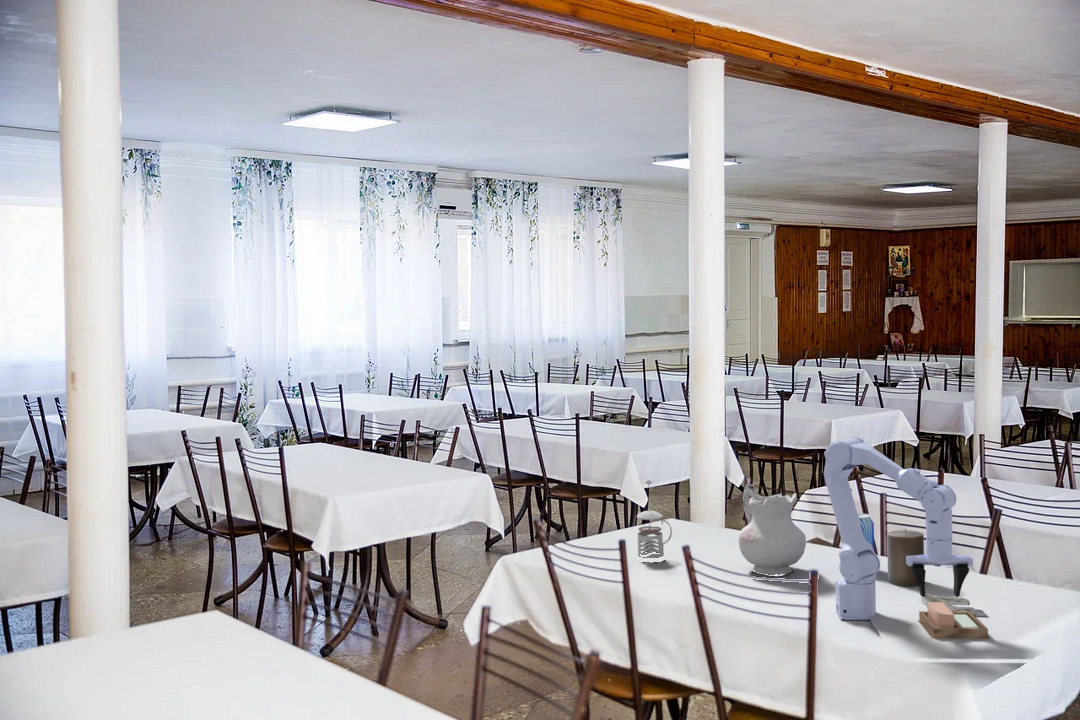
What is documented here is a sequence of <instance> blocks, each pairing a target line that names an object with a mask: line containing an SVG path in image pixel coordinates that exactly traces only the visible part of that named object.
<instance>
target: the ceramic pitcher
mask: <svg viewBox="0 0 1080 720" xmlns="http://www.w3.org/2000/svg"><path fill="white" fill-rule="evenodd" d="M797 500H798V495H797V493H796V492H794V493H793V494H792V495H791V496H790V495H788V494H787V495H783V494H782V493H777V494H773V495H769V496H761V495H760V494H758V492H757V490H756V485H755V484H750V483H746V484H745V486H744V490H743V493H742V504H743V511H744V513H745V518H746V520H747V522H748V524H747V525H746V526H744V527H743V528H742V529H741V530H740V531H739V534H738V545H739V551H740V552H741V555H742V556H743V557H744V558H745V560H746V561H747V562H749V563H750V564H752V565H754V566H753V568H752V569H754V571H756V572H759V573H763V574H768V575H775V574H778V575H780V574H786V575H788V574H789V572H790V573H792V572H793V570H792V567H791V566H793V565H794V564H795V565H796V563H798V562H799V561H800V560H801V559H802V556H803V555H804V554H805V551H806V550H805V549H806V545H807V539H806V538H807V537H806V534H805V533H804V532H803V531H802V529H800V528H799V527H798V526H797V525H796V524H795V523H794V522H793V518H792V512H793V511H792V510H793V508H794V505H795V503H796V502H797ZM791 571H792V572H791Z"/></svg>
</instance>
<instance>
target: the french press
mask: <svg viewBox="0 0 1080 720" xmlns="http://www.w3.org/2000/svg"><path fill="white" fill-rule="evenodd" d="M652 484H653V483H652V480H651V479H648V480H647V479H646V480H645V485H647V486H648V487H650V485H652ZM650 501H651V500H650V498H648V510H645V511H642V512H640V513H638V514H637V515H636V518H637V519H639V520H642V521H643V520H645V521H649V525H648V526H646V525H645V526H642V527H641V526H640V527H638V531H639V532H637V557H638V556H639V557H641V556H640V554H641V555H647V554H649V553H652V552H656V553H660V554H651V555H649V556H647V557H642V558H659V557H662V556H664V557H665V555H664V552H665V551H664V545H665V544H667V543H668V542H670V540H671V538H672V534H673V529H672V527H671V525H670V522H668V521H667V520H665V519H662V517H663V514H662V513H660V512H658V511H655V510H651V505H650ZM660 519H661V521H660V522H661V525H664V522H665V523H666V524H667V526H669V528H670V529H669V530H670V534H669V537H668V538H667V539H666V540H663V532H661V530H662V527H660V526H651V521H656V520H660ZM650 535H651V536H650ZM645 552H647V553H645Z"/></svg>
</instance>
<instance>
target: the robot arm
mask: <svg viewBox="0 0 1080 720" xmlns="http://www.w3.org/2000/svg"><path fill="white" fill-rule="evenodd" d="M823 454H824V458H825V465H824V470H823V477H824V482H825V484H826V488H827V492H828V496H829V500H830V502H831V507H832V510H833V514H834V517H835V521H836V526H837V529H838V532H839V535H840V539H841V542H842V545H841V547H840V550H839V552H838V556H839V561H840V562H839V572H840V574H841V575H840V576H842V577H843V579H842V580H840V579H839V580H836V581H835V612H836V614H837V615H838V618H839V619H840V620H842V619H844V621H845V620H847V621H848V620H849V621H859V620H860V621H861V620H863V621H871V617H874V616H876V615H877V601H876V600H877V599H876V598H877V597H876V596H877V595H876V594H877V592H876V588H877V587H876V578H877V577H876V575H877V574H878V572H879V571H880V569H881V559H880V558H879V556H878V555H877V554H876V552H875V550H874V551H873V548H872V545H871V544H870V543H869V542H867V541H866V540H865V538H864V535H863V531H862V528H861V524H860V521H859V517H858V513H859V512H858V511H857V507H856V503H855V501H854V497H853V493H852V489H851V485H850V483H849V482H850V481H849V477H850V475H851V473H852V472H853V470H854V469H855V467H857V466H859V465H861V466H863V465H867V466H869V467H871V468H872V469H874V470H876V471H878V472H879V473H882V474H884V475H885V476H886V477H888V478H890V479H893V481H895V483H896V487H897V489H899V490H900V491H902V492H904V493H905V494H906V495H908V496H909V497H911V498H913V499H915V500H916V501H918V502H919V503H920V504H921V507H922V509H924V511H925V554H924V555H915V556H906V564H907V565H908V566H911V568H912V570H913V572H914V575H915V577H916V580H917V583H918V586H917V587H918V590H919V595H920V596H922V597H925V595H926V583H925V582H926V569H925V566H952V569H953V570H952V572H953V595H954V597H955V598H960V594H961V590H962V586H963V583H964V582H965V579H966V578H967V576H968V575H969V573H970V567H973V566H974V560H973V559H974V558H973V557H972V556H971V555H959V554H958V555H957V554H953V509H952V508H954V506H955V505H956V503H957V496H956V493H955V491H954V490H953V488H951V487H950V486H949V485H946V484H940V485H939V483H938V481H936V480H931V479H929V478H928V477H926V476H925V475H923V474H921V470H919V469H918V468H913V467H910V468H909V467H908V468H905V469H904V468H903V467H901V466H900V465H899V464H898V463H896V462H894V461H893V460H891V459H890V458H888V457H887V456H886V455H884V454H883V453H882V452H880V451H878V450H877V449H875V447H874V446H873V445H872V444H871V443H869V442H868V441H865V440H864V439H862V438H861V437H858V436H857V437H850V438H847V439H842V440H835V441H832V442H831V443H830V444H829V445H828V446H827V448H826V449H825V451H824V453H823ZM923 565H924V567H923Z"/></svg>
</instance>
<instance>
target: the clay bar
mask: <svg viewBox="0 0 1080 720" xmlns="http://www.w3.org/2000/svg"><path fill="white" fill-rule="evenodd" d="M927 611H928V618H929V619H930V621H931V622H932V623H933V624H934V625H935V626H936V628H954V614H953V613H952V612H951V611H950V610H949V609H948V608H947V607H946V606H945V605H944V603H943V602H928V609H927Z"/></svg>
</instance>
